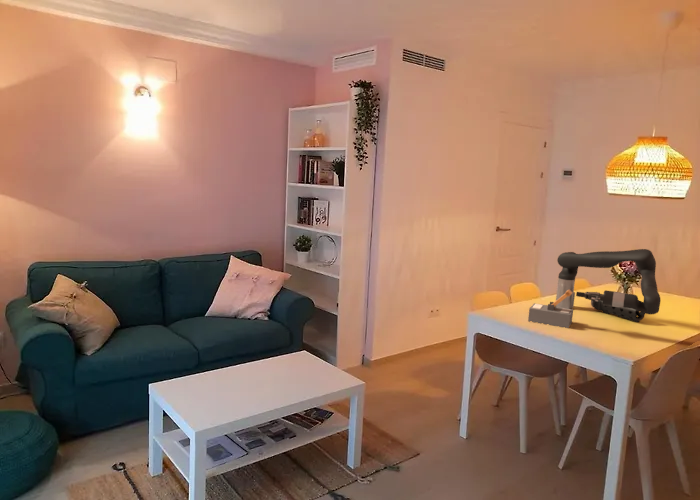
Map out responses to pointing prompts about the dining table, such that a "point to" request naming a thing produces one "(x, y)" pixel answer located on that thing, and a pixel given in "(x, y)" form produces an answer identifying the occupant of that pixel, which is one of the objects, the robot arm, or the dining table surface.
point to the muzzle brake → (619, 311)
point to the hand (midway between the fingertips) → (576, 293)
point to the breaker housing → (550, 315)
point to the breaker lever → (562, 297)
